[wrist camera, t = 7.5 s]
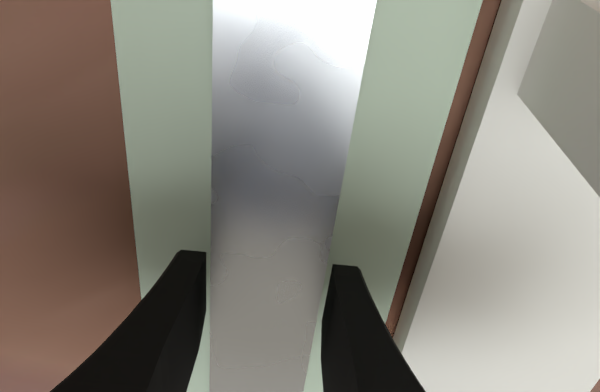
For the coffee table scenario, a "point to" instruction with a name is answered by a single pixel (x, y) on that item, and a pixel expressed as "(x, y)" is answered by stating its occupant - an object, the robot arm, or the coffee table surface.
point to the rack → (517, 218)
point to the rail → (277, 178)
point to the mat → (361, 155)
